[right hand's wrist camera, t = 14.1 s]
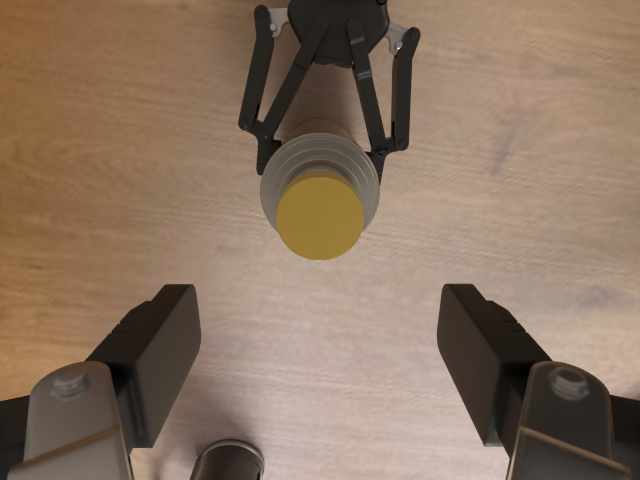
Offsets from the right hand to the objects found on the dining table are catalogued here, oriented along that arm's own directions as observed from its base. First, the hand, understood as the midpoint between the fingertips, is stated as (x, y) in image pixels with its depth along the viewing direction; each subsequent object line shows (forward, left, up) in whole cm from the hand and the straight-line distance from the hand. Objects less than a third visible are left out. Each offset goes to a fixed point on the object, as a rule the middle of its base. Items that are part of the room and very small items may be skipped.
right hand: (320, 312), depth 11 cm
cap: (0, 0, -9) cm, 9 cm away
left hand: (-2, -4, -26) cm, 27 cm away
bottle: (0, 0, -33) cm, 33 cm away
